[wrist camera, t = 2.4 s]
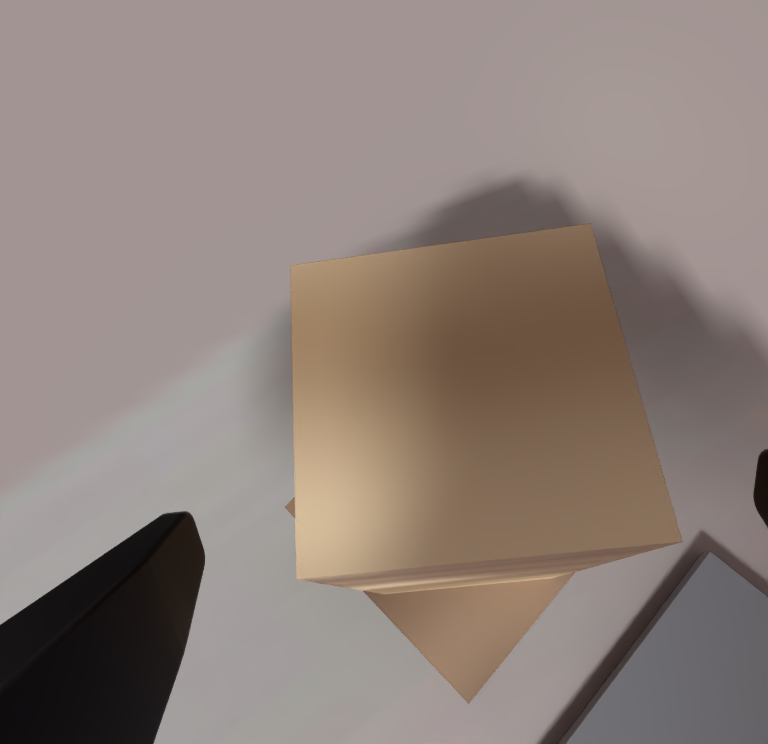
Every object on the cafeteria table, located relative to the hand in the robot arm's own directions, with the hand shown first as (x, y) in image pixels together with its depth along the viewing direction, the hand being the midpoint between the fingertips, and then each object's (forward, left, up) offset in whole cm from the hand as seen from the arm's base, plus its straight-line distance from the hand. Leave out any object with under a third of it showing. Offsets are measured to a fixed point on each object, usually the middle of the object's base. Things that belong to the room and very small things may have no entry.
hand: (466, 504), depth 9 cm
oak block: (+1, -1, -7) cm, 7 cm away
